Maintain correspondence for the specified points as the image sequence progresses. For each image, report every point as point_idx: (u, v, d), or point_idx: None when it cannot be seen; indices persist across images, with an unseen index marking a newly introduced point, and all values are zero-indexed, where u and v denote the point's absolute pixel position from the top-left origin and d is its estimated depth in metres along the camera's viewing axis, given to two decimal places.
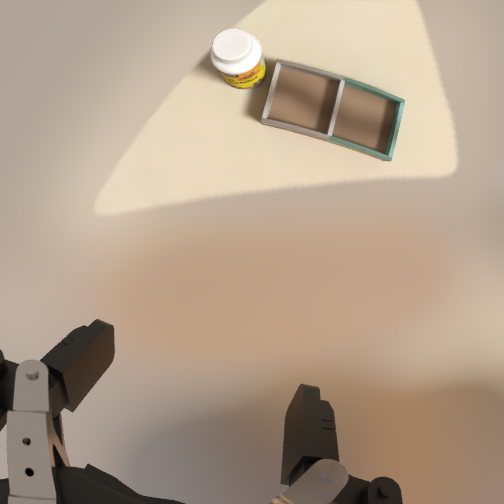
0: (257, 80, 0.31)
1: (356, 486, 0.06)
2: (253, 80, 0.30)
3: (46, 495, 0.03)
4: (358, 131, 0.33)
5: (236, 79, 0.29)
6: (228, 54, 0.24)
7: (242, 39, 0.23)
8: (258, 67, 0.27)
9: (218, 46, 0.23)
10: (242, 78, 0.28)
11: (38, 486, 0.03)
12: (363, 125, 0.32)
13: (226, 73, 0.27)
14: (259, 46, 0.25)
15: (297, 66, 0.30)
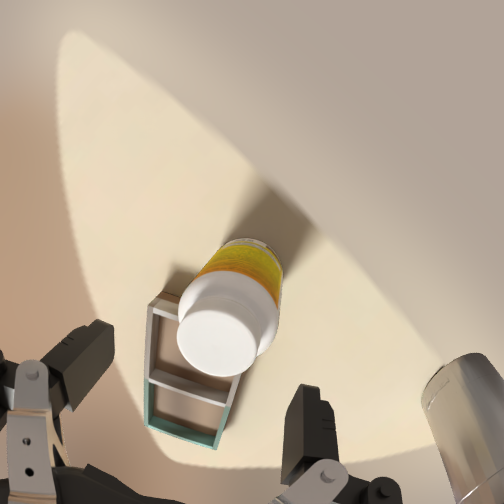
0: None
1: (356, 486, 0.06)
2: None
3: (46, 495, 0.03)
4: (170, 399, 0.27)
5: None
6: (188, 339, 0.13)
7: (226, 365, 0.13)
8: None
9: (208, 322, 0.13)
10: None
11: (37, 486, 0.03)
12: (179, 405, 0.27)
13: None
14: None
15: None
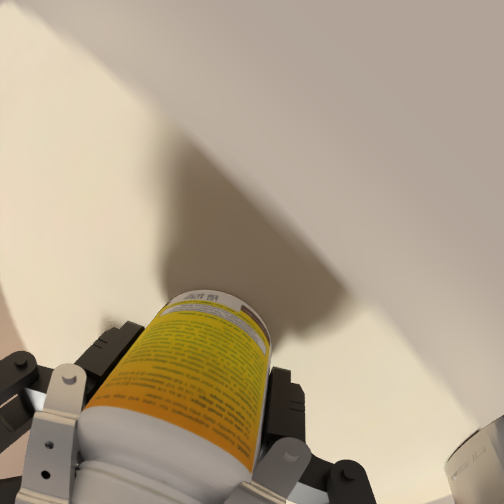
0: None
1: (321, 468, 0.07)
2: None
3: (58, 500, 0.03)
4: None
5: None
6: None
7: None
8: None
9: None
10: None
11: (51, 490, 0.03)
12: None
13: None
14: None
15: None
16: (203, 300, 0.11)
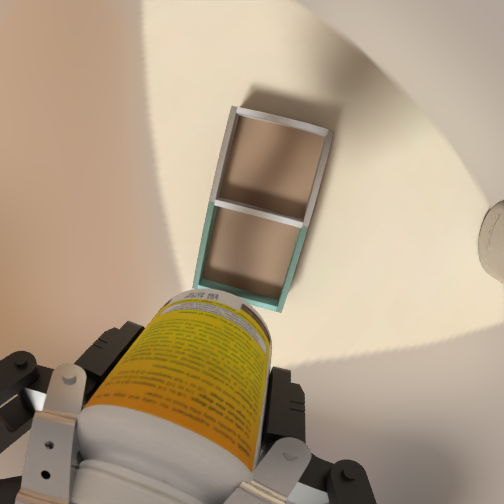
0: None
1: (321, 468, 0.07)
2: None
3: (58, 500, 0.03)
4: (231, 243, 0.27)
5: None
6: None
7: None
8: None
9: None
10: None
11: (51, 490, 0.03)
12: (240, 250, 0.27)
13: None
14: None
15: (322, 159, 0.22)
16: (203, 299, 0.11)
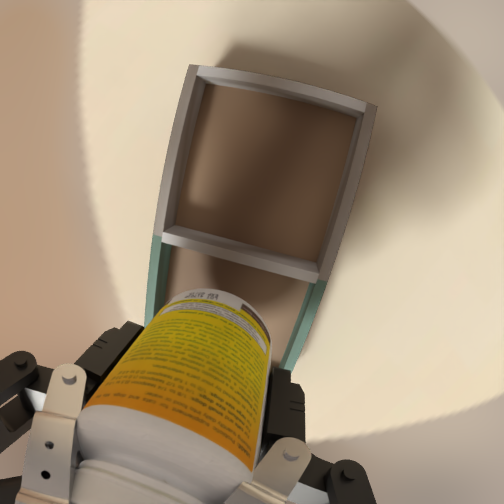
0: None
1: (321, 468, 0.07)
2: None
3: (58, 500, 0.03)
4: None
5: None
6: None
7: None
8: None
9: None
10: None
11: (51, 490, 0.03)
12: None
13: None
14: None
15: (356, 157, 0.11)
16: (203, 299, 0.11)
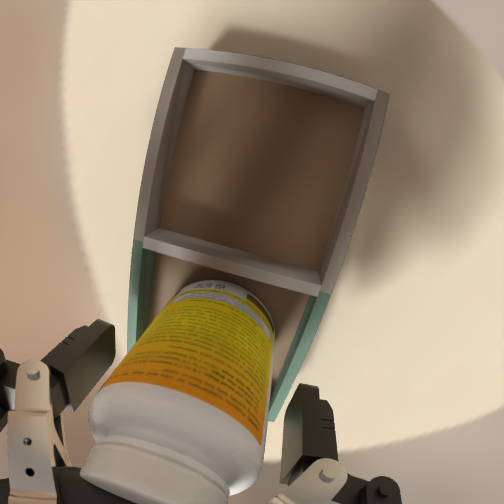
0: None
1: (355, 485, 0.06)
2: None
3: (46, 495, 0.03)
4: None
5: None
6: None
7: None
8: None
9: (120, 494, 0.04)
10: None
11: (38, 486, 0.03)
12: None
13: None
14: None
15: (366, 151, 0.10)
16: (211, 289, 0.12)
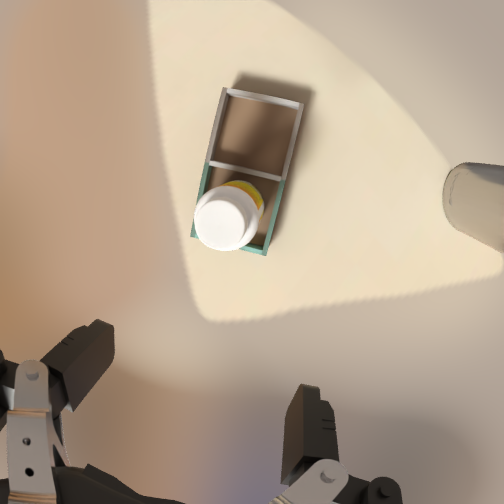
0: None
1: (356, 486, 0.06)
2: None
3: (46, 495, 0.03)
4: None
5: None
6: (202, 222, 0.22)
7: (225, 239, 0.22)
8: None
9: (215, 208, 0.22)
10: None
11: (37, 486, 0.03)
12: None
13: (196, 207, 0.25)
14: (230, 249, 0.25)
15: (295, 126, 0.27)
16: (237, 180, 0.29)
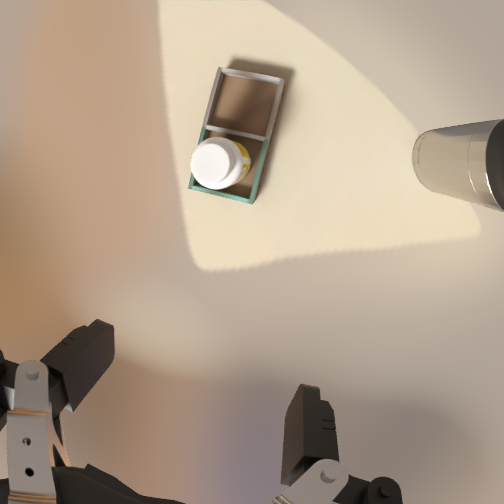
0: None
1: (356, 486, 0.06)
2: None
3: (46, 495, 0.03)
4: None
5: None
6: (196, 161, 0.27)
7: (214, 174, 0.27)
8: None
9: (207, 150, 0.26)
10: None
11: (38, 486, 0.03)
12: None
13: None
14: (219, 187, 0.30)
15: (276, 96, 0.32)
16: None
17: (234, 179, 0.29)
